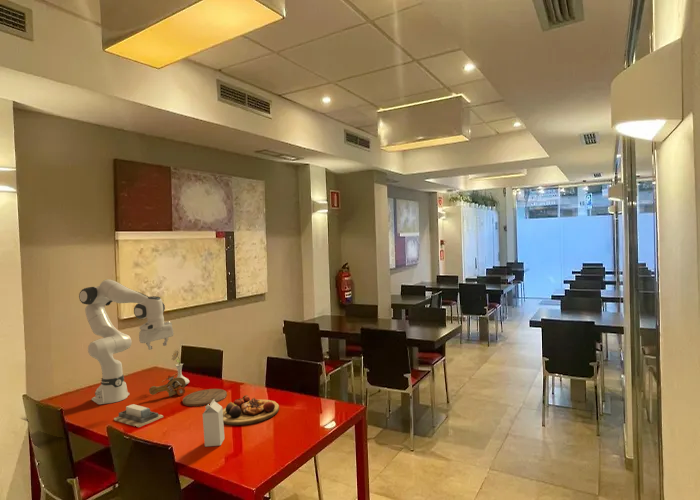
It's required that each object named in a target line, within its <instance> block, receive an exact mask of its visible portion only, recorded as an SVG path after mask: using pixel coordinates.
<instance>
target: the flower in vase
mask: <svg viewBox="0 0 700 500" xmlns="http://www.w3.org/2000/svg"><path fill="white" fill-rule="evenodd" d="M179 353H180V351H179V349H178V348H177V349H174V351H173V353H172V355H171V360H172V362H173V361H176V362H177V363H178V364H174V366H175V367H176V369H177V373H178V374H177V375H176V377H181V378H183V379H184V380H185V386H187V385H188V384H189V383H190V380H189V378H188V377H185V376H184V375H183V374H182V369H183V365H184V363H181V358H180V357H179ZM177 382H178V381H177ZM178 383H179V382H178ZM179 384H180V383H179ZM180 385H181V386H182V384H180ZM172 386H173V385H172Z"/></svg>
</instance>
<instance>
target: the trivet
mask: <svg viewBox="0 0 700 500" xmlns="http://www.w3.org/2000/svg"><path fill="white" fill-rule="evenodd" d="M227 396H228V394H227V391H226V390H224V389H223V388H209V389H201V390H197V391H193V392H191V393H189V394H187V395H185V396H184V397H183V398H182V404H183V405H184V406H187V407H192V406H195V407H196V406H197V407H205V406H204V405H206V406H207V405H208V404H210V403H211V402H212V401H213V399H214V400H215V402H216V403H219V402H221V401H223V400H224V399H226V398H227ZM195 407H194V408H195ZM197 407H196V408H197Z"/></svg>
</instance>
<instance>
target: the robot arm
mask: <svg viewBox="0 0 700 500" xmlns="http://www.w3.org/2000/svg"><path fill="white" fill-rule="evenodd" d="M78 298H79V301H80V303H82V304H83V305H86V306H85V308H84V312H85V316H86V320H87V322H88V325H89V327H90V329H91V332H93V334H94V335H96V336H99V337H102V338H98V339H96V340H94V341H92V342H90V343H89V345H88V347H87V353H88V354H89V356H90V357H91V358H94V359H95V360H97V362H98V363H99V365H100V367H101V369H100V370H101V375H102V378H100V385H99V386H98V387H97V388H96V390H95V392H94V395H95V396H93V397H92V398H91V401H92V402H94V403H96V404H97V405H105V404H112V403H118V402H121V401H123V400H126V399H127V398H129V397H128V396H130V392H129V391H128V387H127V383H126V381H125V375H124V372H123V363H122V361H120V360H119V359H117V358H116V359H115V358H114V354H118V353H122V352H124V351H126V350H128V349H130V348H131V346H132V343H133V341H132V338H131V336H130V335H129V334H126V333H123V332H122V331H120V330H119V329H117V328H116V326H114V324H113V323H112V321H111V319H110V317H109V315H108V313H107V311H106V306H107V307H108V306H110V305H111V304H112V303H116V304H135V305H134V308H133V314H134V316H135V317H136V318H137V319H139V320H142V319H144V320H145V319H147V321H146V322H144V323H143V324H141V325H139V334H138V340H139V343H140V344H145V345H146V346H147V349H148V350H151V351H152V349H153V345H151V342H154V341H158V340H163V339H164V341H163V342H162V346H164V347H165V346H166V347H167V345H168V340H169V338H171V337H173V336H174V334H175V333H174V327H173V322H171V321H165V317H164V312H165V310H166V309H165V308H166V306H165V303H164V302H163V299H162V298H161V297H160V296H157V295H156V296H154V295H152V296H151V295H150V296H148V295H146V294H144V293H141V292H139V291H138V290H134V289H132V288H129V287H127V286H125V285H124V284H121V282H118V281H116V280H113V279H105V280H103V281H101V282H100V284H99V285H98V286H90V287H84V288H82V289H81V290H80V292H79V293H78Z"/></svg>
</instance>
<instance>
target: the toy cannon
mask: <svg viewBox="0 0 700 500" xmlns="http://www.w3.org/2000/svg"><path fill="white" fill-rule="evenodd" d="M175 376H176V377H175ZM177 376H178V372H176V373H174V374H169V375H168V377H166V378H165V379H163V380H162V381H161V382H162V383H164V382H166V381H167V380H168V382H167V383H166V384H164V385H158V386H155V385H153V386H151V387H149V390H148V393H149V394H150V395H153V396H154V395H156V394H157V393H161V392H167V393H168V397H173V396H174V395H178V396H184V394H185V393H186V389H185V388H186V385H185V380H184V379H183V378H181V377H177ZM177 381H178V382H179V383H180V384H182V386H181V385H180V384H179V383H178V382H177ZM172 385H173V386H172Z"/></svg>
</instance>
